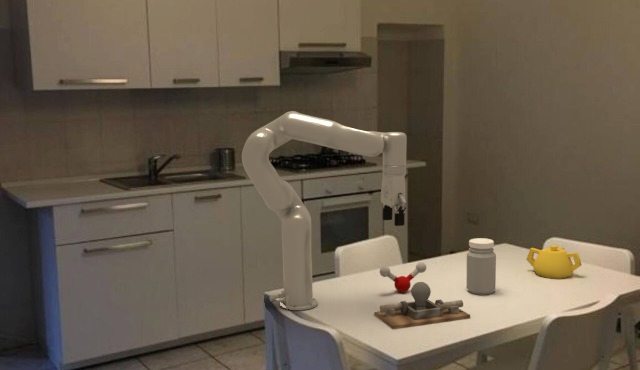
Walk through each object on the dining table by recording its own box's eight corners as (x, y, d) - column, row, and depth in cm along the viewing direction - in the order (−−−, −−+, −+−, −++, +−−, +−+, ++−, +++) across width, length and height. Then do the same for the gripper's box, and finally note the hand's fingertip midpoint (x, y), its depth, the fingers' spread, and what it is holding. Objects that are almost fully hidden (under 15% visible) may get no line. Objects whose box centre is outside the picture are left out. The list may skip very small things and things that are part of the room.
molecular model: (385, 298, 241) (385, 269, 240) (376, 293, 246) (376, 265, 245) (428, 290, 249) (428, 262, 247) (418, 286, 254) (418, 258, 253)
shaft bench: (393, 329, 211) (392, 312, 210) (374, 315, 224) (374, 299, 223) (470, 318, 219) (470, 302, 218) (447, 305, 232) (447, 289, 231)
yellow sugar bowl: (587, 270, 270) (588, 242, 269) (576, 282, 255) (577, 252, 253) (534, 264, 281) (535, 237, 279) (520, 275, 266) (521, 246, 264)
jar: (461, 292, 246) (461, 241, 244) (475, 285, 253) (476, 236, 251) (486, 297, 239) (486, 245, 237) (500, 290, 247) (501, 240, 244)
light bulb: (425, 317, 217) (425, 285, 216) (407, 314, 220) (407, 283, 219) (433, 312, 222) (433, 281, 221) (416, 309, 225) (416, 278, 224)
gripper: (373, 167, 236) (372, 218, 239) (394, 174, 220) (393, 228, 222) (394, 167, 239) (393, 217, 241) (416, 173, 222) (415, 227, 225)
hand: (393, 222), depth 232 cm, fingers open, 9 cm apart
